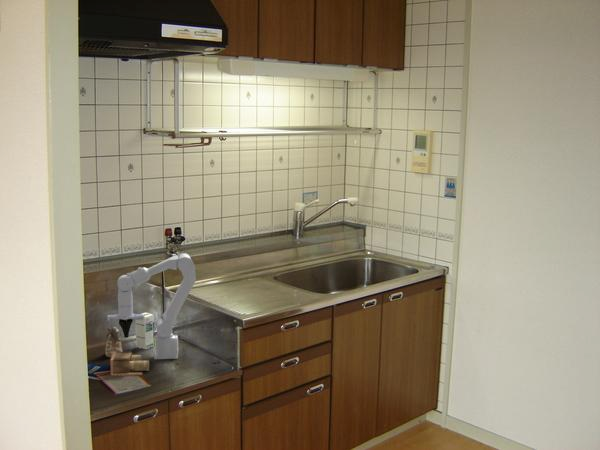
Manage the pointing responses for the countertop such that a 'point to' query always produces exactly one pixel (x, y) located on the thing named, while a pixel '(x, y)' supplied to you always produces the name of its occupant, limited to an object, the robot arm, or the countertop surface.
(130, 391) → the countertop surface
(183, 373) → the countertop surface
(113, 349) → the figurine
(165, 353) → the robot arm
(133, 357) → the short dowel
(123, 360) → the block
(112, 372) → the end wall and guide rails
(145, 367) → the dowel
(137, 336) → the syrup box
